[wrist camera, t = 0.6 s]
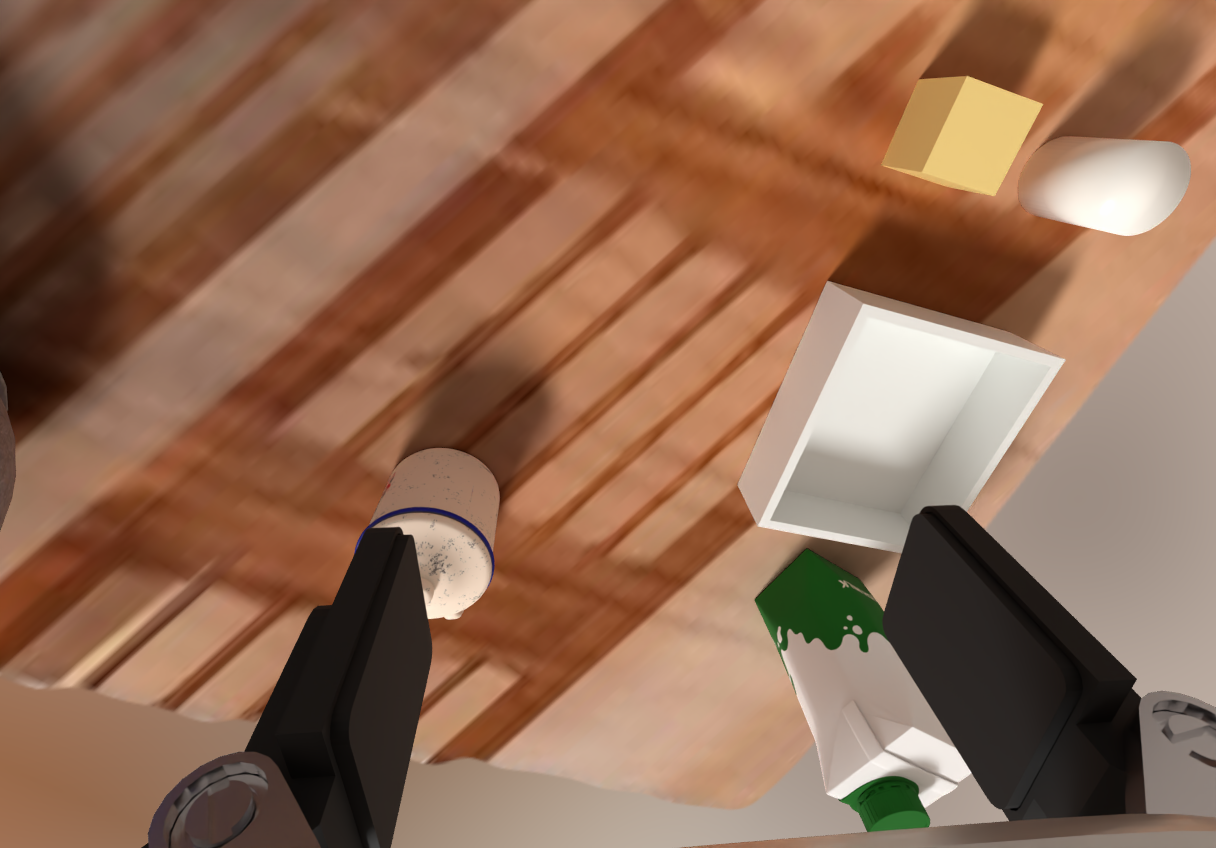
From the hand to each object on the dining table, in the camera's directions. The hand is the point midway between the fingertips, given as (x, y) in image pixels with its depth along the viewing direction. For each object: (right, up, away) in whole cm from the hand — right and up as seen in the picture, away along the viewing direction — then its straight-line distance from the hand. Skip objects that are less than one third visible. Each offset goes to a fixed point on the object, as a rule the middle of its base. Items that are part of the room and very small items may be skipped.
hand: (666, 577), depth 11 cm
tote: (+19, +4, +36) cm, 41 cm away
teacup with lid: (-14, -4, +37) cm, 40 cm away
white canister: (+29, +19, +29) cm, 45 cm away
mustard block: (+20, +21, +27) cm, 40 cm away
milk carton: (+17, -12, +45) cm, 50 cm away
